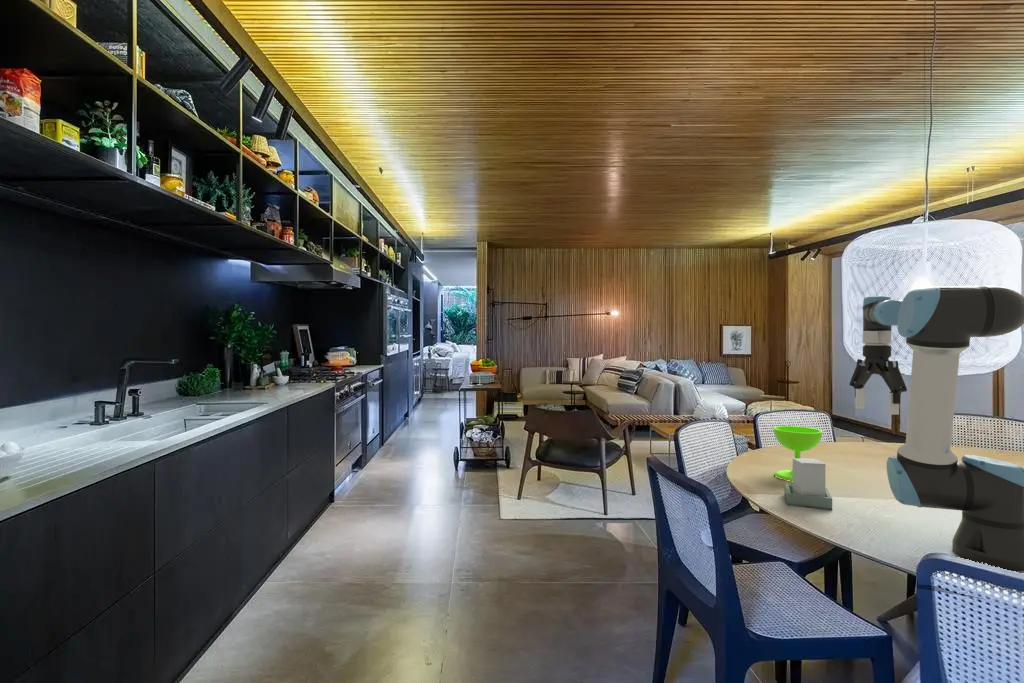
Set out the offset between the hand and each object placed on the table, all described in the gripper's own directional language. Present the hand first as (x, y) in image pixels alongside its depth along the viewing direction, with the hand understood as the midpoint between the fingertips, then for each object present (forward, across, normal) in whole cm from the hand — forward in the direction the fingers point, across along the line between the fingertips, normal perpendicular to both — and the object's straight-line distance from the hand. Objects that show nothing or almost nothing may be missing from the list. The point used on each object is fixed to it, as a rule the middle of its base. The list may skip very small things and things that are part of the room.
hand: (876, 411), depth 168 cm
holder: (+29, +1, +22) cm, 36 cm away
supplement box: (+28, +1, +22) cm, 36 cm away
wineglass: (+29, +29, +7) cm, 42 cm away
